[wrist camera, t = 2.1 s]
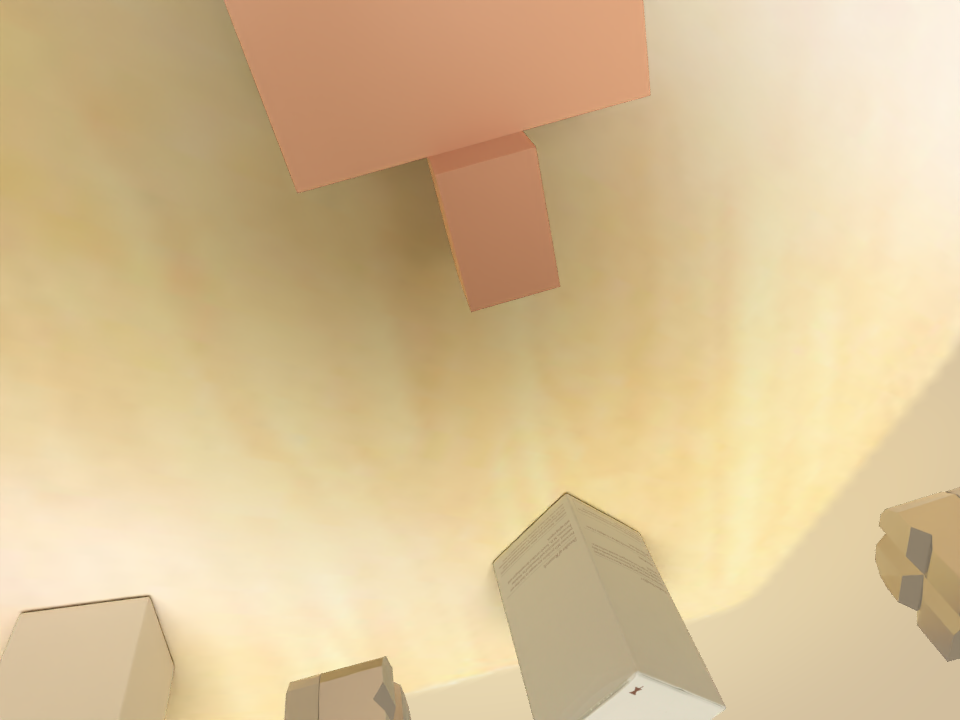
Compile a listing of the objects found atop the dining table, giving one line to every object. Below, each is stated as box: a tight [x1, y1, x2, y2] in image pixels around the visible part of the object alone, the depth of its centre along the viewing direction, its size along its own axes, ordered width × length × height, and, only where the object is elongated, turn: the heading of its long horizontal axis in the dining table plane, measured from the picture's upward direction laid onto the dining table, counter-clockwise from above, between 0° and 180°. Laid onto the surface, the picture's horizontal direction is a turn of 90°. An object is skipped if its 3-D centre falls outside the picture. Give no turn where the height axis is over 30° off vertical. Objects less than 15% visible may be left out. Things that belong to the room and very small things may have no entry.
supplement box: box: [493, 494, 726, 720], centre depth 42 cm, size 7×7×13 cm
